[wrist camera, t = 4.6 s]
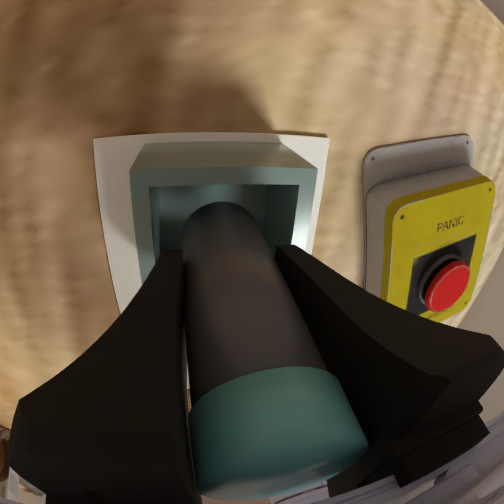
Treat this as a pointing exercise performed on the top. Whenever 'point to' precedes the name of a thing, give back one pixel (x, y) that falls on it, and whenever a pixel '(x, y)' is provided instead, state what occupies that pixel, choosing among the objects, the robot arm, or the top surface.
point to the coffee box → (7, 470)
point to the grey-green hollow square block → (218, 191)
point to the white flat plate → (120, 205)
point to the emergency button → (425, 224)
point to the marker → (255, 369)
